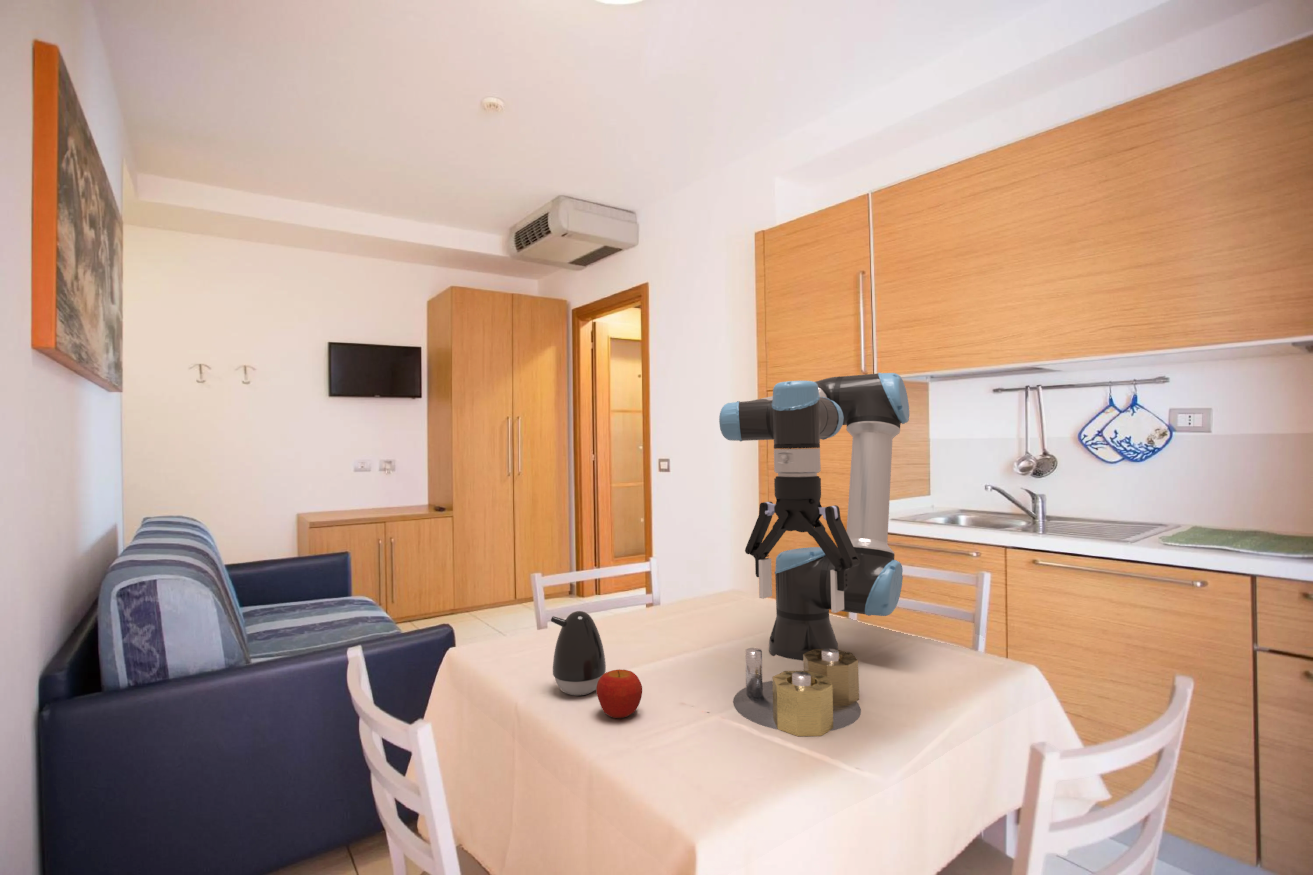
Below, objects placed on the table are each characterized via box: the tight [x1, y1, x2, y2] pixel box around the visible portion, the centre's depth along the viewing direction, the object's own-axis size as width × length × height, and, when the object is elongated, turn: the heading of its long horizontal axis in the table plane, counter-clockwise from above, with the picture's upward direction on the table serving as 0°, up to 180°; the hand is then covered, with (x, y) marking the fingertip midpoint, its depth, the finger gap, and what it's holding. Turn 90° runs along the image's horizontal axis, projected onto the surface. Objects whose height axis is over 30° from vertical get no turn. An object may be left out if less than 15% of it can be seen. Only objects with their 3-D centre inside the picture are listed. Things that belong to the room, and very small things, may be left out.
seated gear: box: [802, 649, 860, 706], centre depth 113 cm, size 9×9×7 cm
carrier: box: [732, 647, 862, 732], centre depth 110 cm, size 22×22×9 cm
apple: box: [596, 668, 643, 719], centre depth 108 cm, size 8×8×8 cm
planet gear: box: [771, 670, 833, 737], centre depth 102 cm, size 9×9×7 cm
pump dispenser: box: [550, 610, 607, 697], centre depth 119 cm, size 10×10×15 cm
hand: (800, 603), depth 102 cm, fingers open, 13 cm apart
